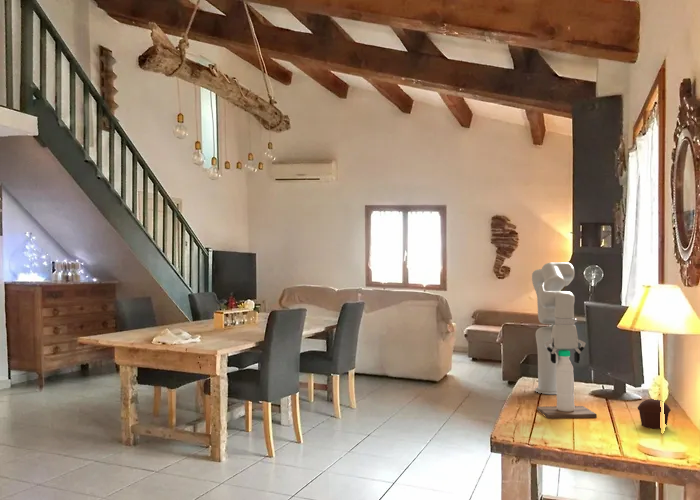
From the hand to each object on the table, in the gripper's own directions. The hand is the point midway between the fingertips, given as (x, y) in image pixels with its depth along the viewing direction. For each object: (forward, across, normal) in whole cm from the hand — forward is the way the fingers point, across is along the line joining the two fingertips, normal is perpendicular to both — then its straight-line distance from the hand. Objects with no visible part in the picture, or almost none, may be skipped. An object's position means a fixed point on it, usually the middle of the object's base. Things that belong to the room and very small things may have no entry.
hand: (565, 362), depth 258 cm
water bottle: (+20, 0, 0) cm, 20 cm away
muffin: (+22, -27, +20) cm, 40 cm away
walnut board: (+21, 0, 0) cm, 21 cm away
